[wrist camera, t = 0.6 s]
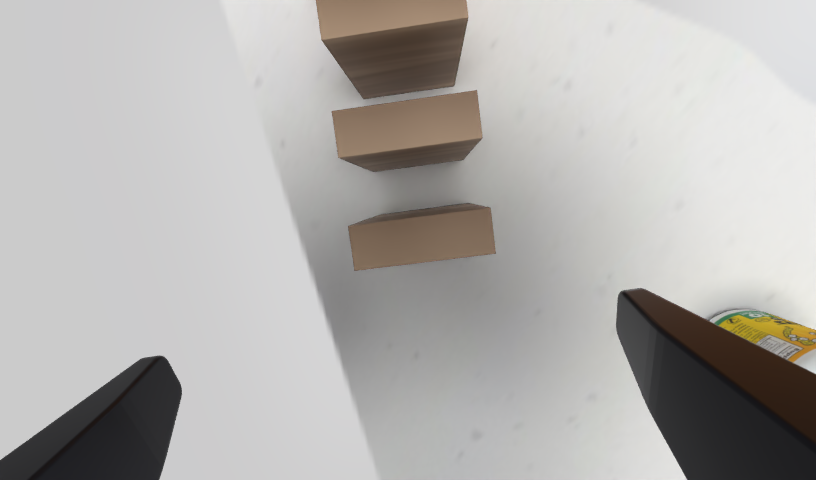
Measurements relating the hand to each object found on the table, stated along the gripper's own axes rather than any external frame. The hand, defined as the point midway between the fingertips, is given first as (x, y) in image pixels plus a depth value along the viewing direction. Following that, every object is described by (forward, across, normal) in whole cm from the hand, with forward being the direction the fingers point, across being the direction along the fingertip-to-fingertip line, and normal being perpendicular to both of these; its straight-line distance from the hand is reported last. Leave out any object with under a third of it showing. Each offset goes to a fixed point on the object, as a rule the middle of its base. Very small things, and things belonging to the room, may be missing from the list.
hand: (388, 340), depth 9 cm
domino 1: (+20, -1, -1) cm, 20 cm away
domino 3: (+16, -1, +6) cm, 18 cm away
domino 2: (+18, -1, +2) cm, 18 cm away
